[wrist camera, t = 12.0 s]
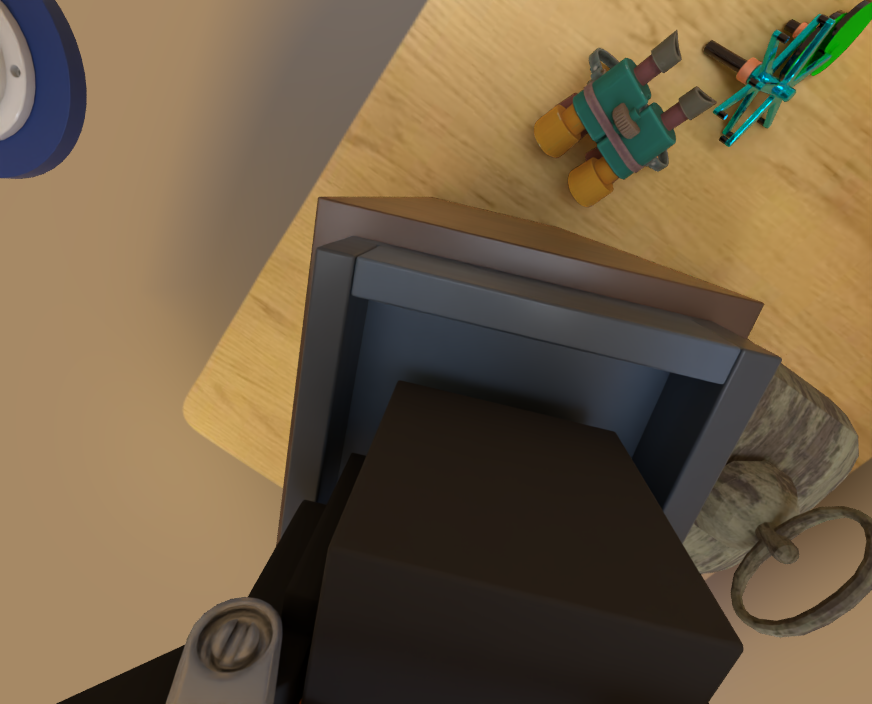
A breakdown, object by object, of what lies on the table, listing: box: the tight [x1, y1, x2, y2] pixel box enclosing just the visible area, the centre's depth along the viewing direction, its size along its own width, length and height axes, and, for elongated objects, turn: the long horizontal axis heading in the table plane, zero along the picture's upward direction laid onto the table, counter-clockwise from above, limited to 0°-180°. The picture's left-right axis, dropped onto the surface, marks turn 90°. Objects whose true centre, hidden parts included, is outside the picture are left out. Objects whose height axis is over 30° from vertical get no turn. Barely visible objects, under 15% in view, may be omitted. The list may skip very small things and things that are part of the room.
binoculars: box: [534, 30, 717, 207], centre depth 30 cm, size 9×9×10 cm
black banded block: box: [299, 380, 743, 704], centre depth 8 cm, size 5×7×5 cm
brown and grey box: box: [276, 197, 782, 546], centre depth 26 cm, size 11×20×31 cm, turn 167°
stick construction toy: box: [704, 0, 872, 147], centre depth 30 cm, size 12×7×8 cm
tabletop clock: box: [683, 339, 872, 637], centre depth 29 cm, size 14×9×25 cm, turn 147°
